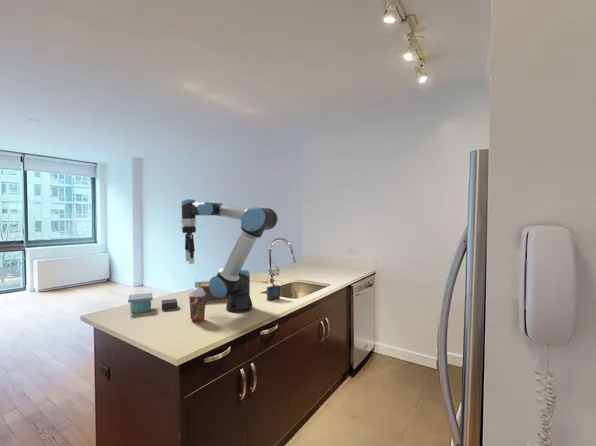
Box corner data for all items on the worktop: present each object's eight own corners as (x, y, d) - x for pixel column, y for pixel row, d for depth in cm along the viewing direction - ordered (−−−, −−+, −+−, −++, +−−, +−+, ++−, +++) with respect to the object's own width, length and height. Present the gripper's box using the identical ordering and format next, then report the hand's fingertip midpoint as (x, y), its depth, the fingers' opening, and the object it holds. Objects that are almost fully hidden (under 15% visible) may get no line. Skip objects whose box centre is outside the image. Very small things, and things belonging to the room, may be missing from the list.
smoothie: (196, 324, 154) (196, 284, 154) (185, 321, 158) (185, 282, 158) (209, 319, 161) (209, 281, 161) (198, 316, 165) (198, 279, 165)
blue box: (267, 301, 197) (267, 284, 196) (265, 300, 199) (265, 283, 199) (280, 299, 201) (280, 283, 201) (278, 298, 204) (278, 282, 204)
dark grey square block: (177, 308, 179) (177, 302, 179) (162, 310, 175) (162, 303, 175) (176, 305, 186) (176, 298, 186) (161, 306, 183) (161, 300, 182)
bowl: (150, 311, 174) (150, 300, 173) (129, 314, 169) (129, 302, 169) (150, 306, 183) (150, 295, 183) (131, 308, 178) (130, 297, 178)
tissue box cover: (195, 302, 193) (195, 286, 193) (195, 297, 206) (195, 282, 206) (237, 299, 202) (237, 284, 201) (233, 293, 215) (233, 279, 215)
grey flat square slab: (152, 300, 173) (152, 297, 173) (128, 302, 168) (128, 300, 168) (152, 295, 184) (152, 292, 184) (129, 297, 179) (129, 294, 179)
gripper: (179, 226, 189) (180, 260, 189) (185, 226, 167) (186, 265, 167) (192, 225, 192) (193, 259, 193) (199, 225, 170) (200, 264, 170)
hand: (189, 262), depth 180 cm, fingers open, 13 cm apart
